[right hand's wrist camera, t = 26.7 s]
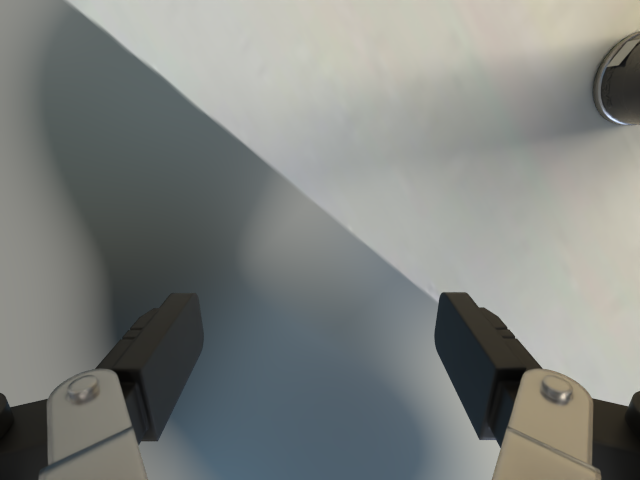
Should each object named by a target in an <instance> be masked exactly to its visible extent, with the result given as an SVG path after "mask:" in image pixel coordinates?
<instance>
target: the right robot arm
mask: <svg viewBox="0 0 640 480" xmlns="http://www.w3.org/2000/svg"><path fill="white" fill-rule="evenodd" d="M593 96H594V102H595V105H596V108H597V110H598V111H599V113H600V114H601V115H602V116H603V117H604V118H605V119H606V120H608V121H610V122H612V123H615V124H621V125H638V124H639V125H640V32H637V33H634V34H632V35H630V36H628V37H627V38H625V39H623V40H622V41H621V42H619V43H618V44H617V45H616V46H615V47H614V48H613V49H612V50H611V51H610V52H609V53H608V55H607V56H606V57H605V59H604V60H603V62H602V63H601V65H600V67H599V69H598V72H597V74H596V77H595V81H594V87H593ZM203 341H204V332H203V325H202V318H201V311H200V304H199V298H198V296H197V294H196V293H171V294H170V295H169V296H168V298H167V299H166V300H165V301H164V303H163V304H162V305H161V306H160V308H154V309H152V310H150V311H149V312H147V313H146V314H144V315H143V316H141V317H140V318H139V319H138V320H137V321H136V322H135V323H134V325H133V326H132V327H131V328H130V330H128V331H127V333H126V334H125V335H124V336H123V338H122V340H120V341H119V342H118V343H117V344H116V345H115V346H114V348H113V349H112V350H111V351H110V352H109V353H108V355H107V356H106V357H105V358H104V359H103V360H102V362H101V363H100V364H99V365H98V366H97V367H96V369H93V370H89V371H85V372H82V373H79V374H77V375H75V376H73V377H71V378H69V379H67V380H66V381H64V382H63V383H61V384H60V385H59V386H58V387H57V388H55V389H54V391H53V392H52V393H51V394H50V396H49V398H48V399H45V400H41V401H36V402H32V403H28V404H23V405H19V406H15V407H10V406H9V404H8V402H7V399H6V397H5V396H4V395H3V394H2V393H0V480H148V477H147V474H146V470H145V467H144V463H143V460H142V457H141V453H140V450H139V444H140V442H141V441H158V440H159V438H160V436H161V434H162V431H163V429H164V427H165V425H166V423H167V421H168V419H169V417H170V415H171V413H172V411H173V409H174V407H175V405H176V403H177V401H178V399H179V397H180V395H181V392H182V390H183V388H184V386H185V384H186V382H187V380H188V378H189V376H190V374H191V372H192V370H193V368H194V366H195V364H196V362H197V360H198V357H199V356H200V353H201V351H202V348H203ZM435 346H436V350H437V352H438V354H439V356H440V359H441V361H442V363H443V365H444V367H445V369H446V371H447V373H448V375H449V377H450V379H451V381H452V384H453V386H454V388H455V390H456V392H457V394H458V396H459V398H460V400H461V402H462V404H463V406H464V408H465V411H466V413H467V415H468V417H469V419H470V421H471V423H472V425H473V427H474V429H475V431H476V433H477V435H478V438H479V439H480V440H497V442H498V444H499V446H500V448H501V450H500V453H499V456H498V460H497V463H496V467H495V470H494V474H493V477H492V480H640V391H639V392H636V393H635V394H634V395H633V397H632V399H631V402H630V404H629V407H628V406H624V405H619V404H615V403H610V402H606V401H602V400H597V399H593V398H591V396H590V394H589V393H588V392H587V391H586V389H585V388H583V387H582V386H581V385H580V384H579V383H577V382H576V381H574V380H573V379H571V378H569V377H567V376H565V375H563V374H561V373H558V372H555V371H552V370H547V369H542V367H541V366H540V365H539V364H538V363H537V362H536V360H535V359H534V358H533V357H532V356H531V354H530V353H529V352H528V351H527V350H526V349H525V347H524V346H523V345H522V344H521V343H520V342H519V340H518V339H515V336H514V335H513V333H512V332H511V331H510V330H508V329H507V326H506V325H505V324H504V323H503V322H502V321H501V319H500V318H499V317H498V316H496V315H495V314H493V313H492V312H490V311H489V310H487V309H485V308H479V307H478V306H477V305H476V303H475V302H474V301H473V300H472V298H471V297H470V296H469V295H468V294H467V293H465V292H443V293H442V294H441V295H440V299H439V305H438V312H437V320H436V326H435Z"/></svg>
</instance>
